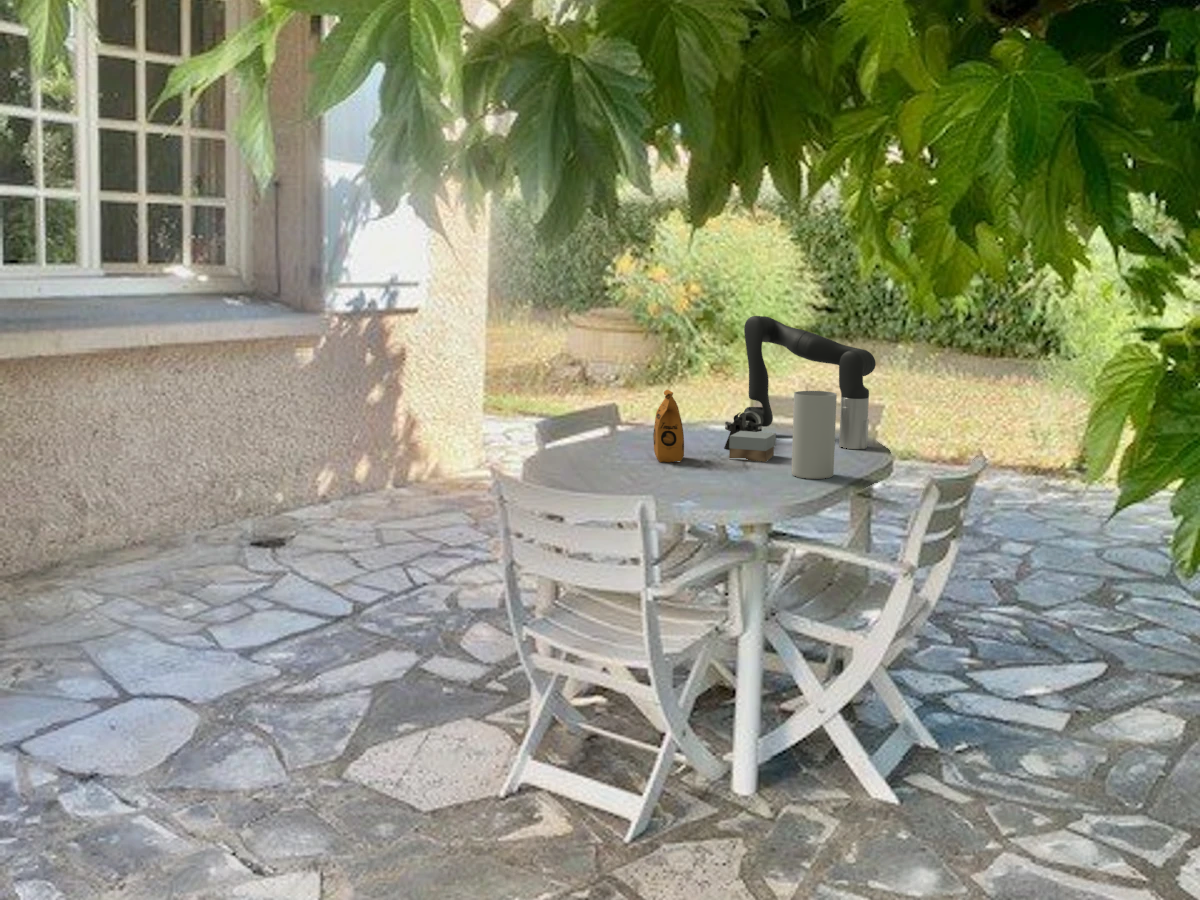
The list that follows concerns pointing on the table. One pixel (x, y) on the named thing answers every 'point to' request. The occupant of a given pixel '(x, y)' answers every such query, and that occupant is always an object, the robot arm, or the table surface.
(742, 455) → the bottom slab
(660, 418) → the coffee package
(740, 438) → the top slab
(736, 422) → the black triangular frame
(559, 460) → the table surface
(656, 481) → the table surface
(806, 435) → the cylinder vase
